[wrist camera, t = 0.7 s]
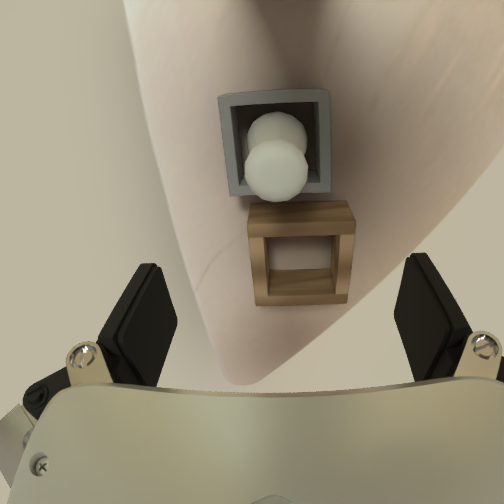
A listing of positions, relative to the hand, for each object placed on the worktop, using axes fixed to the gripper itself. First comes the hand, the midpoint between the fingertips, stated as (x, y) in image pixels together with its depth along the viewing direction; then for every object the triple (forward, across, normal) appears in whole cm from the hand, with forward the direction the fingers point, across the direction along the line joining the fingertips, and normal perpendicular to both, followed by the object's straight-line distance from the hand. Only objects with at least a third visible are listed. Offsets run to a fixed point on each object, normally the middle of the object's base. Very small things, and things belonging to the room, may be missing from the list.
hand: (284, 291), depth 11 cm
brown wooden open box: (+23, -2, +12) cm, 26 cm away
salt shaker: (+23, 0, -1) cm, 23 cm away
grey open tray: (+23, 0, -1) cm, 23 cm away
